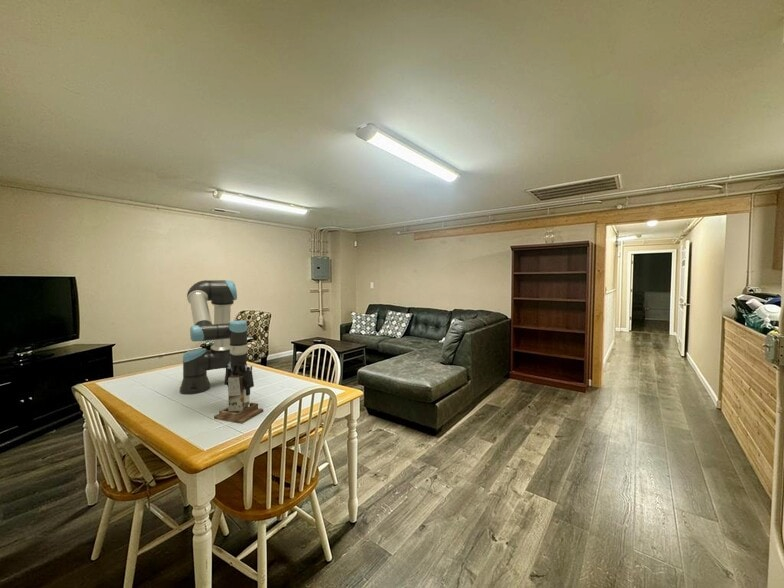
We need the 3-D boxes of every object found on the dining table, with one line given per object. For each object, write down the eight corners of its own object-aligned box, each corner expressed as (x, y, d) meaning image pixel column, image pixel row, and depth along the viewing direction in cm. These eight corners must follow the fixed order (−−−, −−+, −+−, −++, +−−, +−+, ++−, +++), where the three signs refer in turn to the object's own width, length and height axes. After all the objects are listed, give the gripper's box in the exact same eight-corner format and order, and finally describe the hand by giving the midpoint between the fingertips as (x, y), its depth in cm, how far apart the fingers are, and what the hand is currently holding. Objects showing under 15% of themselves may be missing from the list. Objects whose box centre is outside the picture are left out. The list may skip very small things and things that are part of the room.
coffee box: (242, 411, 145) (242, 377, 144) (228, 411, 145) (227, 377, 144) (249, 403, 154) (249, 371, 154) (236, 403, 154) (235, 371, 153)
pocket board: (213, 418, 146) (213, 410, 145) (237, 407, 159) (237, 400, 159) (241, 423, 141) (241, 415, 141) (263, 411, 154) (263, 404, 154)
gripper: (214, 353, 148) (215, 400, 149) (250, 357, 142) (251, 406, 143) (227, 350, 155) (228, 395, 156) (262, 353, 149) (262, 400, 150)
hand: (239, 400), depth 149 cm, fingers closed on coffee box, 8 cm apart
